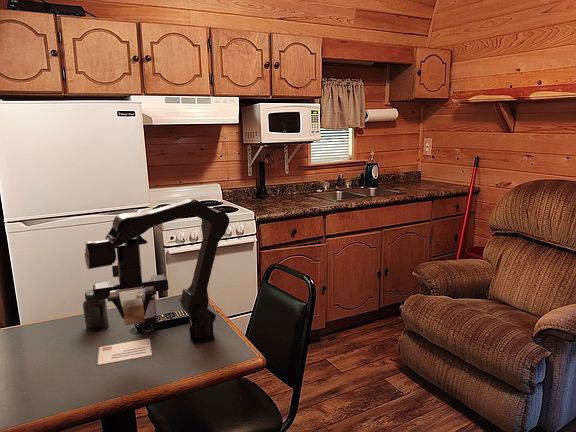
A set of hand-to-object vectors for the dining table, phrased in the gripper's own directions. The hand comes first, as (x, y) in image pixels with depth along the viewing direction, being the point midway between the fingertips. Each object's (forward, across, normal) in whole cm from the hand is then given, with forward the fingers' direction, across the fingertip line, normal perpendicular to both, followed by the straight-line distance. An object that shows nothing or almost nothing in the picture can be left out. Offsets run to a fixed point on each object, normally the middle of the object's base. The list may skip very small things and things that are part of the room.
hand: (133, 316), depth 121 cm
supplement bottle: (+12, +10, -24) cm, 29 cm away
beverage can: (+12, -5, -16) cm, 21 cm away
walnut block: (+1, 0, 0) cm, 1 cm away
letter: (+12, +3, -5) cm, 13 cm away
